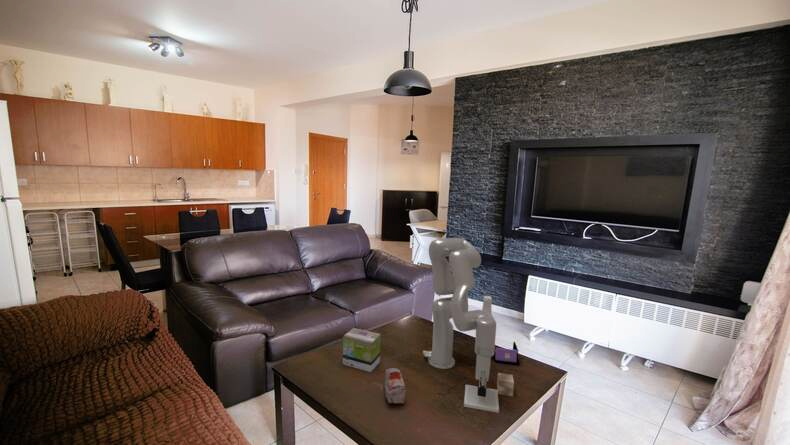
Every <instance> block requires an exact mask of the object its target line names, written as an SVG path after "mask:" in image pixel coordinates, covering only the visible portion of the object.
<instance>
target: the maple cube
mask: <svg viewBox="0 0 790 445" xmlns="http://www.w3.org/2000/svg"><path fill="white" fill-rule="evenodd" d="M496 380H497V382H496V390H497V391H498V395H502V396H508V397H514V388H515V387H514V386H515V381H514V375H513V374H509V373H501V372H498V373H497V378H496Z"/></svg>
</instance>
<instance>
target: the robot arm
mask: <svg viewBox="0 0 790 445" xmlns="http://www.w3.org/2000/svg"><path fill="white" fill-rule="evenodd" d="M428 256H429V260H430V263H431V268H432V269H431V270H432V280H433V281H432V282H433V290H434V293H435V294H436V295H438V296H447V295H449V296H450V295H452V296H451V297H441V298H438V299H436V300H434V301H433V302H432V304H431V312H432V319H433V320H432V321H433V322H432V323H433V324H432V345H431V346H432V348H431V350H422V355H424V358H427V359H428V364H429V365H430V366H432V367H434V368H436V369H441V370H446V369H447V370H448V369H451V368H453V367H454V366H455V364H456V360H455V358H454V357H453V342H454V327H455V328H456V329H457V330H458V331H460V332H470V331H475V340H474V341H475V342H474V353H475V354H476V360H475V379H476V380H477V387H478V396H482V397H486V388H488V387H487V382H488V381H489V378H490V370H491V361H492V357H493V355H494V350H496V336H497V321H496V319H495V318H494V319H495V320H494V319H493V318H490V317H489V316H488V315H487V314H486V313H485V312H484V311H482V309H475V310H469V298H468V291H469V290H471V289H473V288H474V287H475V286H476V280H475V277H474V272H473V270H472V269H475V268H479V267H480V266H481V263H482V256H481V254H480V252H479V251H478V250H477V249H476V247H475V246H474V245H472V244H471V243H470V242H468V240H466V239H465V238H462V237H449V238H448V237H445V238H438V239H433V240H432V241H431V242H430V244H429V245H428ZM446 257H448V260H447V258H446ZM450 319H452V320H453V324H454V325H453V324H452V322H451V321H450Z"/></svg>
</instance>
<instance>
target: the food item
mask: <svg viewBox="0 0 790 445" xmlns="http://www.w3.org/2000/svg"><path fill="white" fill-rule="evenodd" d="M383 380H384V382H383V384H384V392H385V397H386V400H387V402H388V404H404V403H405V398H406V392H407V391H406V384H405V381H404V379H403V375H402V373H401V370H400V369H399V368H396V367H392V368H387V369H384V379H383Z"/></svg>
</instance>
